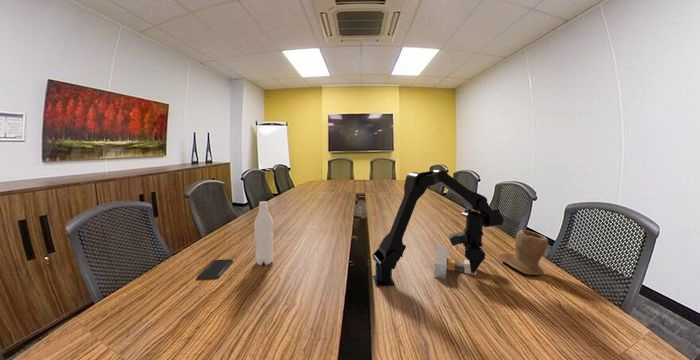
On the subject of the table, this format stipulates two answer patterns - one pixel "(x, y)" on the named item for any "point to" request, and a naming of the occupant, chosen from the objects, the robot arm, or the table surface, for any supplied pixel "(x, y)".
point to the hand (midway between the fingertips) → (471, 267)
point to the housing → (440, 262)
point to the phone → (215, 269)
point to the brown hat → (527, 252)
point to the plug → (459, 266)
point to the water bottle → (264, 235)
